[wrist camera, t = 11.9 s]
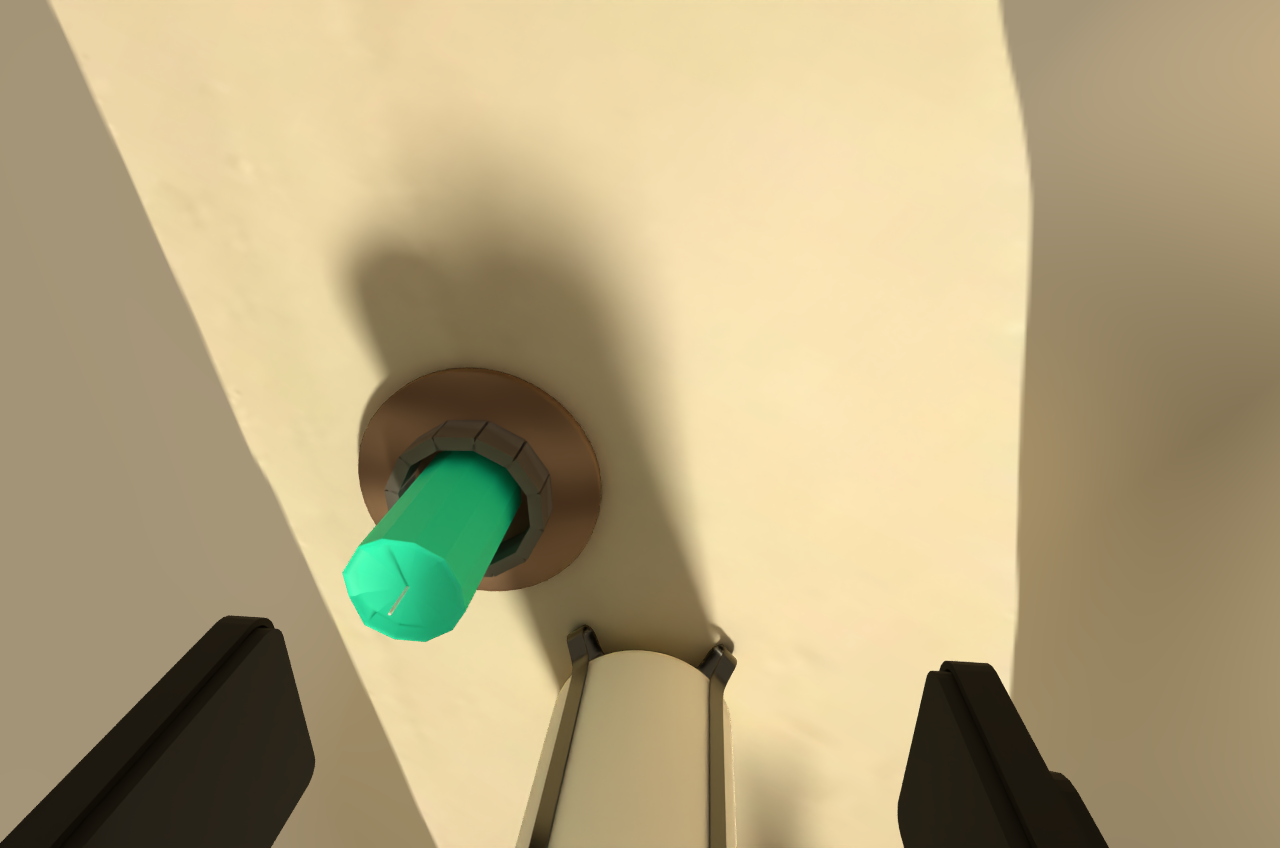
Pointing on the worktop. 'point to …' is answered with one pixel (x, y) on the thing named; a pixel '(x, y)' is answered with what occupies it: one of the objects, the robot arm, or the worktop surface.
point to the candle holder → (505, 433)
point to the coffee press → (635, 754)
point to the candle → (433, 547)
